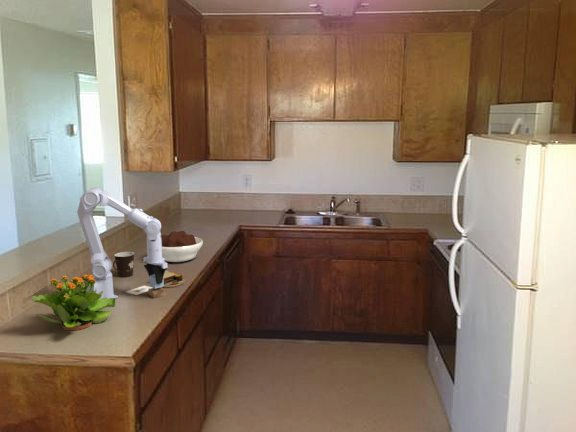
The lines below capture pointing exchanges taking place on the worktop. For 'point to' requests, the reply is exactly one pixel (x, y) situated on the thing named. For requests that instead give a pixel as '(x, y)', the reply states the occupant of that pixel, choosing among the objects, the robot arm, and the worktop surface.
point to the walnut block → (156, 292)
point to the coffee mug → (124, 264)
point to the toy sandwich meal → (172, 279)
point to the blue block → (153, 282)
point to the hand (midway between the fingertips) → (156, 282)
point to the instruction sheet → (139, 290)
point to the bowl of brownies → (180, 246)
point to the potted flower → (76, 303)
